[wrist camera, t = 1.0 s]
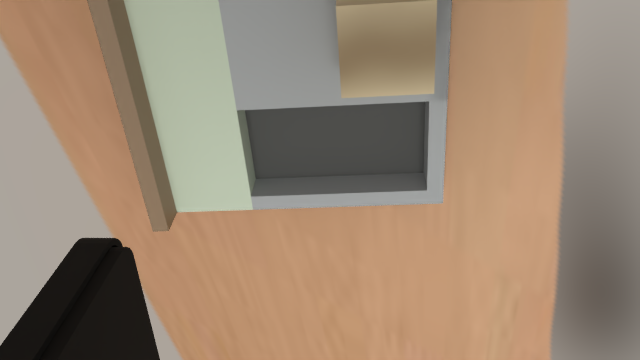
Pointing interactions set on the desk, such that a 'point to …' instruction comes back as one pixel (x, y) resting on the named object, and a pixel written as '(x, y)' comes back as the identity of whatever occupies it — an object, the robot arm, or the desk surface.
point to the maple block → (386, 47)
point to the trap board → (263, 109)
